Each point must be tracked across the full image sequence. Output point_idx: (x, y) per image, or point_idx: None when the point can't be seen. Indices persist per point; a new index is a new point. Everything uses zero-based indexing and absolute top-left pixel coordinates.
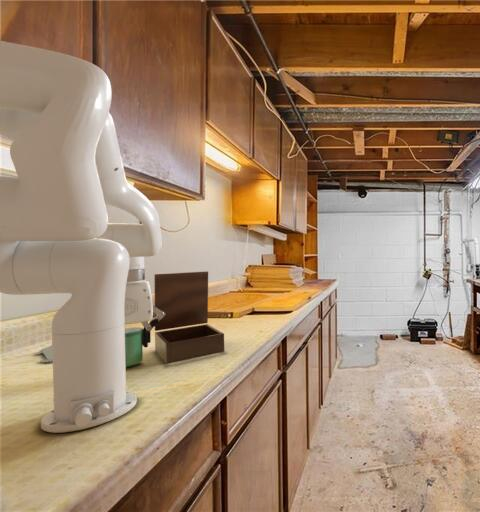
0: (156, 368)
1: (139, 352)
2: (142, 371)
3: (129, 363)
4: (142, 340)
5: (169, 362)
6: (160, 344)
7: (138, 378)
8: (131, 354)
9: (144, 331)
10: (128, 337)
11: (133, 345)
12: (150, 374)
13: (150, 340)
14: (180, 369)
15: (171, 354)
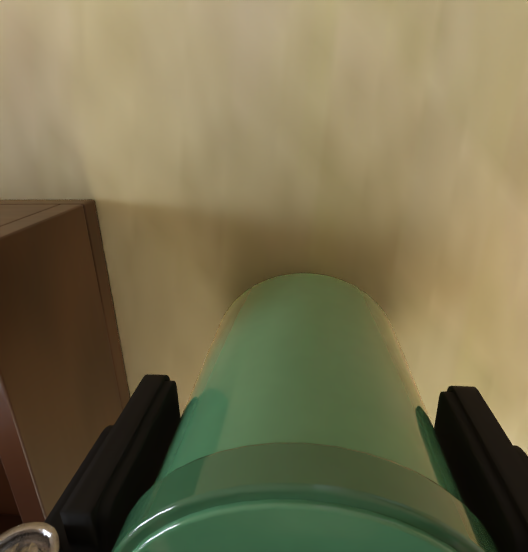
0: (154, 219)
1: (221, 340)
2: (234, 221)
3: (301, 278)
4: None
5: (62, 205)
6: (76, 459)
7: (269, 73)
8: (283, 312)
9: (98, 545)
10: (302, 439)
11: (257, 362)
12: (193, 107)
13: (102, 434)
14: (6, 61)
15: (9, 221)
